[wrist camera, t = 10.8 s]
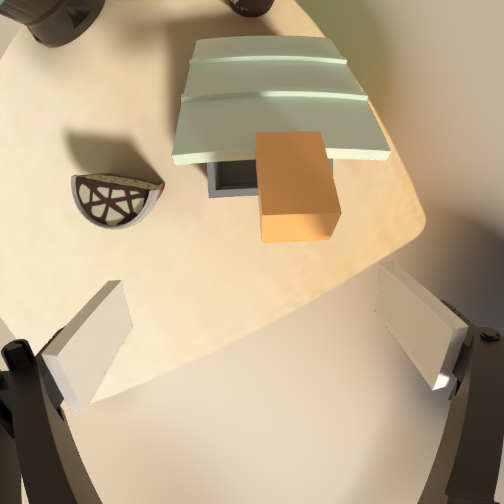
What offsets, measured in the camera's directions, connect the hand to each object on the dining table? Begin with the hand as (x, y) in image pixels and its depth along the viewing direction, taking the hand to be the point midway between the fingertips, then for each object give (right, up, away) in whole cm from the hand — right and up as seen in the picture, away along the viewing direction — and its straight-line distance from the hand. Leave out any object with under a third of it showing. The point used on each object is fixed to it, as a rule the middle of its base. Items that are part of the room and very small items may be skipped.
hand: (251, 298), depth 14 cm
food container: (-18, +11, +28) cm, 35 cm away
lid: (+2, +14, +8) cm, 16 cm away
